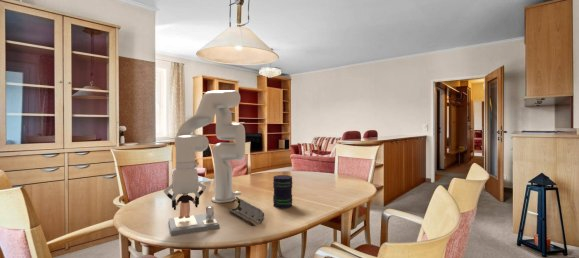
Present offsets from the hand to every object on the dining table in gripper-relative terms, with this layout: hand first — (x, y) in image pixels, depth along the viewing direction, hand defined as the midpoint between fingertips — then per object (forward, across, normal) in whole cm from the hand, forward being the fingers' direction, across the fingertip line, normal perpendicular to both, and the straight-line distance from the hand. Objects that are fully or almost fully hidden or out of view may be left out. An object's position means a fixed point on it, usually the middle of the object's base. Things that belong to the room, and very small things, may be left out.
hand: (185, 207), depth 117 cm
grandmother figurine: (+4, 0, 0) cm, 4 cm away
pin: (+5, -9, +5) cm, 12 cm away
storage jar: (+8, -48, -8) cm, 49 cm away
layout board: (+7, -3, +1) cm, 8 cm away
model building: (+8, -25, 0) cm, 27 cm away
